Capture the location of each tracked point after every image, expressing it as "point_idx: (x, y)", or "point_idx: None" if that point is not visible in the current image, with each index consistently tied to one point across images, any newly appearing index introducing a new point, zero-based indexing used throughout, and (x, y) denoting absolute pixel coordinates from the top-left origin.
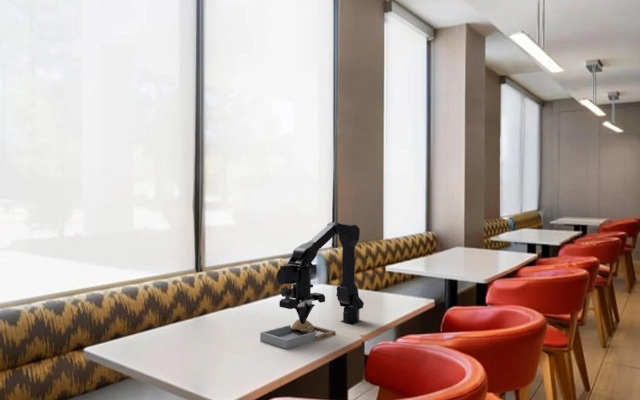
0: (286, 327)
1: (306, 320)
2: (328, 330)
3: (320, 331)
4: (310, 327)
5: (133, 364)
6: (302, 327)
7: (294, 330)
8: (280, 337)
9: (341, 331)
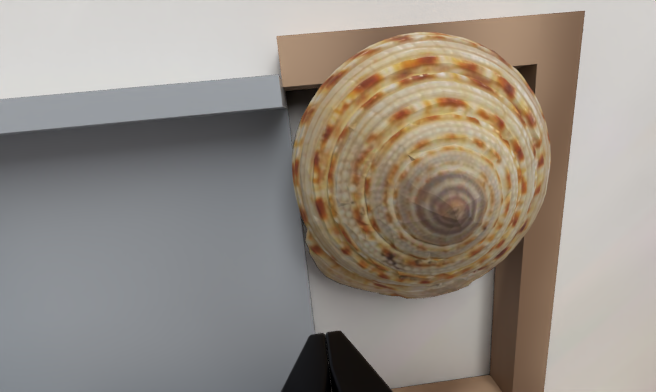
0: (207, 114)
1: (481, 252)
2: (526, 377)
3: (503, 290)
4: (432, 295)
5: None
6: (349, 270)
7: None
8: (104, 180)
9: (637, 337)
